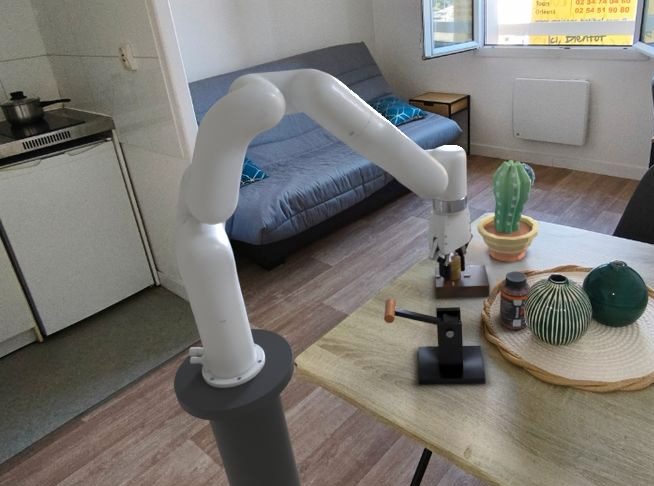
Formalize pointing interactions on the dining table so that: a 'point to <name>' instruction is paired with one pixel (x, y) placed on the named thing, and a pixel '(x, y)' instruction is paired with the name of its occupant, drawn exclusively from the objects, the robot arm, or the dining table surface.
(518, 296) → the supplement bottle
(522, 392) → the dining table surface
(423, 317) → the lever handle
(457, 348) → the bracket
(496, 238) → the potted cactus
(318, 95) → the robot arm
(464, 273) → the dial panel
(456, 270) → the knob
